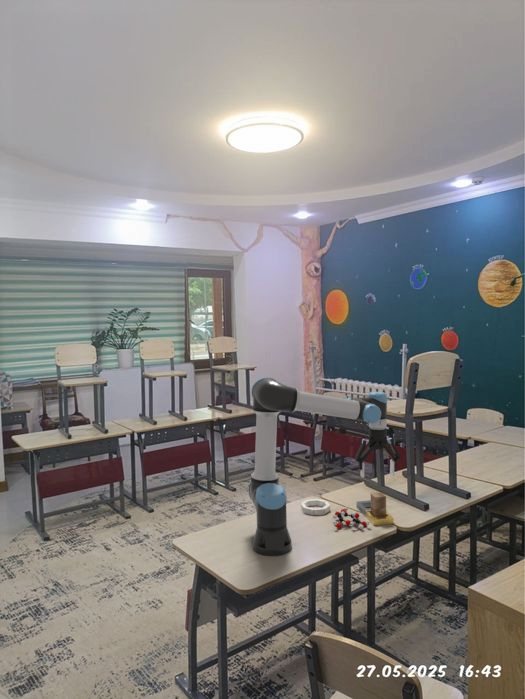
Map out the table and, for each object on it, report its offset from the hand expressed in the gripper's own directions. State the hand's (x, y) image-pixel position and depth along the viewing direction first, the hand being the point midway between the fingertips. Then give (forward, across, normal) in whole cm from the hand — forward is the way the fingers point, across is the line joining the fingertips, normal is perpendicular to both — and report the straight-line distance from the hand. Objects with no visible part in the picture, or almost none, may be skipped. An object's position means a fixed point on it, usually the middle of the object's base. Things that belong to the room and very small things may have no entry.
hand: (377, 476), depth 213 cm
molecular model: (+20, -13, -2) cm, 24 cm away
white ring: (+20, -23, +16) cm, 35 cm away
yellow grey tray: (+19, +1, +5) cm, 20 cm away
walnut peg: (+19, +1, 0) cm, 19 cm away
